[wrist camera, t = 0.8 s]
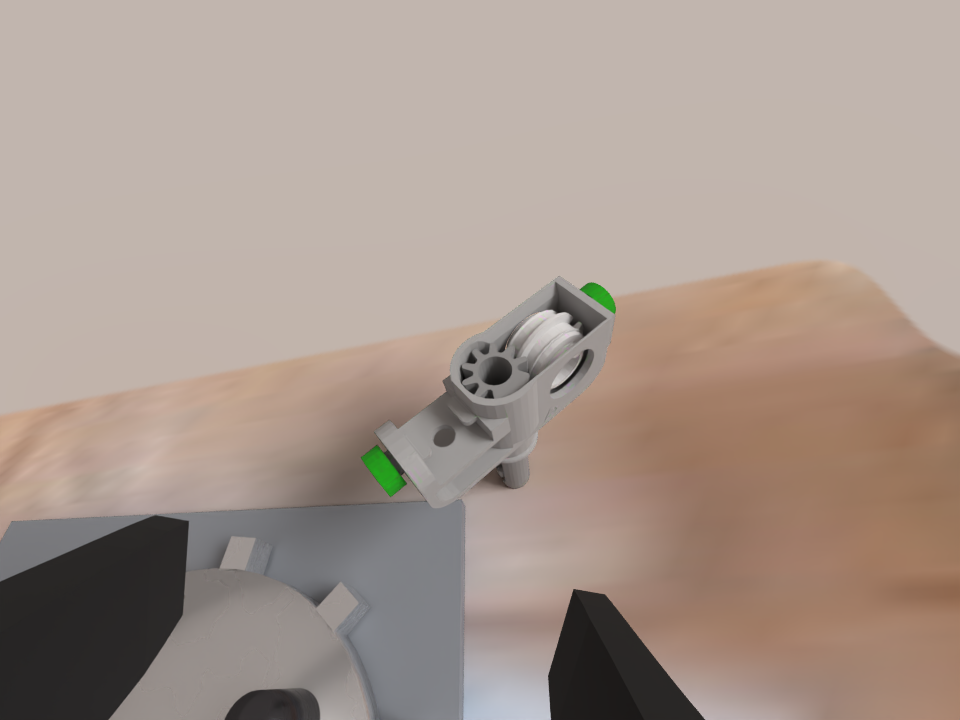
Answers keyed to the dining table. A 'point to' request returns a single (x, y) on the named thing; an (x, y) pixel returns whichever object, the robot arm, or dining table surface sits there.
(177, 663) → the sprocket
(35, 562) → the index board
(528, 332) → the mechanical component
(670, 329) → the dining table surface
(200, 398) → the dining table surface
